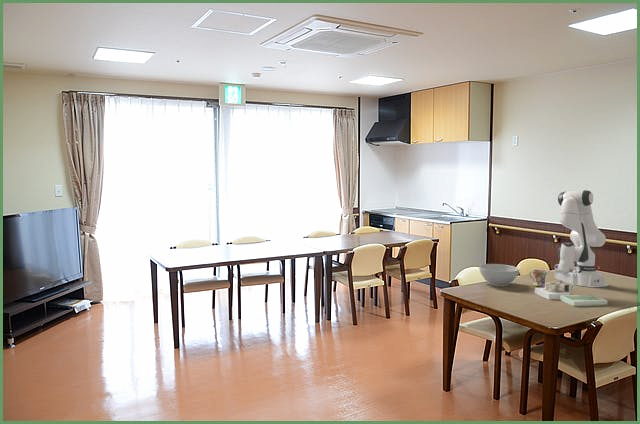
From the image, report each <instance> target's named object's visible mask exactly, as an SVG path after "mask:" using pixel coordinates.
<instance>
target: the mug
mask: <svg viewBox="0 0 640 424" xmlns="http://www.w3.org/2000/svg"><path fill="white" fill-rule="evenodd" d="M531 273H532V274H533V276H534V278H533V277H532V275H531ZM547 274H548V271H547V270H544V269H533V270H532V271H529V277H530V278H531V279H532V280H533V282H532V286H534V287H536V288H545V283H546V276H547Z"/></svg>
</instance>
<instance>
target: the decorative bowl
mask: <svg viewBox="0 0 640 424" xmlns="http://www.w3.org/2000/svg"><path fill="white" fill-rule="evenodd" d="M478 270H479V273H480V274H481V276H482V278H483V279H484V280H485V281H486V282H487V283H488V284H489V285H490V286H492V285H493V287H499V286H500V288H501V287H502V288H503V287H508V285H509V284H510V283H512V282H514V281H515V279H516V278H517V277H518V275H519V273H520V268H519V267H517V266H514V265H509V264H501V263H500V264H499V263H485V264H484V263H483V264H479V267H478Z"/></svg>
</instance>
